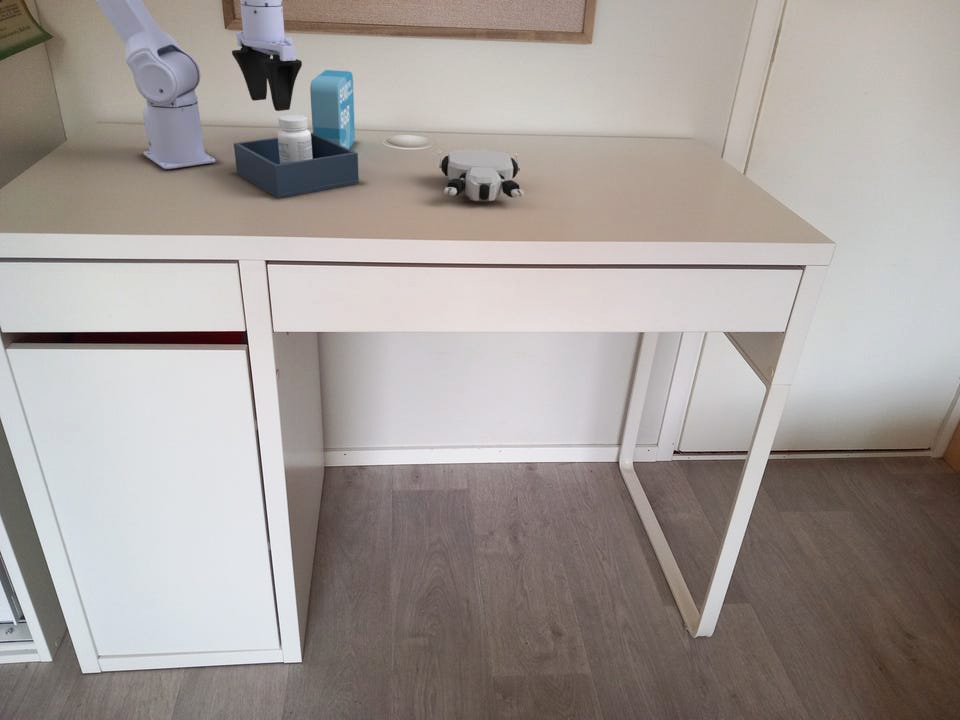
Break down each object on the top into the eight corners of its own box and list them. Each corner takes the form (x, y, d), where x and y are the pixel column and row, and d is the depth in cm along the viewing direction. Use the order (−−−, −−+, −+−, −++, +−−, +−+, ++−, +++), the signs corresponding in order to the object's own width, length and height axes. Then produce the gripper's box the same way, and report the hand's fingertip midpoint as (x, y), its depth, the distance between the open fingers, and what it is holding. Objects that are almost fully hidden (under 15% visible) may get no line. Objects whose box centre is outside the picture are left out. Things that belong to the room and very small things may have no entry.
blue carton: (341, 160, 120) (338, 83, 113) (313, 158, 120) (309, 81, 114) (355, 141, 130) (353, 69, 124) (329, 139, 130) (326, 68, 124)
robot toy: (526, 214, 104) (515, 175, 117) (529, 184, 102) (517, 147, 114) (440, 212, 103) (438, 173, 116) (440, 181, 101) (438, 144, 113)
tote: (236, 173, 111) (233, 143, 108) (314, 161, 118) (313, 132, 116) (277, 198, 102) (274, 165, 100) (358, 183, 110) (357, 152, 108)
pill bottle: (313, 170, 112) (310, 113, 108) (313, 179, 108) (309, 121, 104) (281, 170, 112) (276, 113, 107) (280, 179, 108) (274, 120, 103)
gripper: (312, 10, 101) (318, 111, 108) (264, -2, 110) (272, 93, 117) (264, 11, 97) (274, 117, 104) (218, -1, 106) (230, 97, 113)
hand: (270, 104), depth 110 cm, fingers open, 7 cm apart
